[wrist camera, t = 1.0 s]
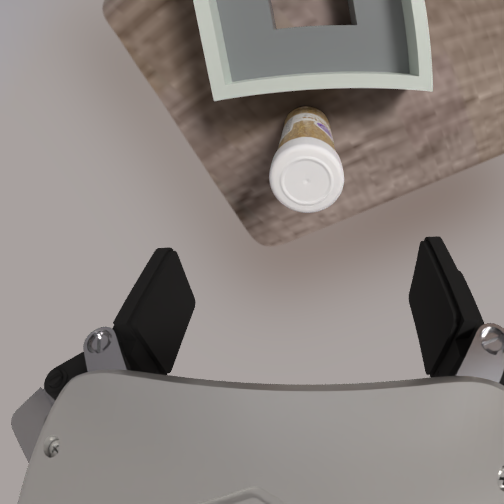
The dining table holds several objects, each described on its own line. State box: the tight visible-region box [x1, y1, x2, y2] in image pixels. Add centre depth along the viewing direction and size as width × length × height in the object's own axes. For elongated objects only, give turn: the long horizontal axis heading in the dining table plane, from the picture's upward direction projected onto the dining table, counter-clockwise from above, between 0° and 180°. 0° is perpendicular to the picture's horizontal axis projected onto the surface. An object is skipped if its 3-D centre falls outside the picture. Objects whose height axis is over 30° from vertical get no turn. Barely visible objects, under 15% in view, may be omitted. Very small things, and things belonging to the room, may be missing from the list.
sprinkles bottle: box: [269, 106, 344, 213], centre depth 23 cm, size 5×5×13 cm
